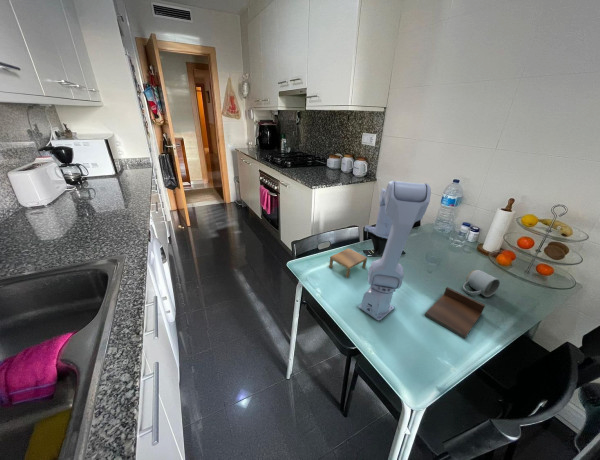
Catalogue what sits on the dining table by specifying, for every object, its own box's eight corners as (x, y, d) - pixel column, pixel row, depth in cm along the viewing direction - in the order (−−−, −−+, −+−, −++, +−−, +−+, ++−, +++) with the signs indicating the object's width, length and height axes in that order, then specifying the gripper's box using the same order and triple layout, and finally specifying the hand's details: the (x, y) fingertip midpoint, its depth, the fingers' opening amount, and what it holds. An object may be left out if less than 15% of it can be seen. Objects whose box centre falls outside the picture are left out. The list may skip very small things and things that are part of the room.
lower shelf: (464, 338, 74) (469, 328, 72) (424, 315, 82) (427, 306, 80) (481, 314, 83) (485, 305, 82) (443, 295, 91) (447, 286, 90)
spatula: (377, 258, 94) (378, 256, 94) (368, 254, 97) (369, 251, 97) (392, 250, 101) (393, 247, 101) (383, 246, 104) (384, 243, 103)
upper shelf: (347, 277, 99) (349, 267, 97) (329, 266, 105) (330, 256, 103) (365, 267, 106) (367, 257, 104) (347, 257, 113) (348, 248, 111)
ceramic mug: (475, 281, 100) (481, 265, 97) (495, 294, 93) (503, 277, 90) (455, 287, 97) (461, 270, 93) (475, 300, 90) (482, 283, 86)
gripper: (408, 225, 90) (400, 257, 95) (373, 213, 99) (368, 243, 105) (398, 230, 85) (390, 263, 91) (363, 217, 95) (358, 248, 101)
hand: (378, 253), depth 98 cm, fingers closed on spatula, 1 cm apart
